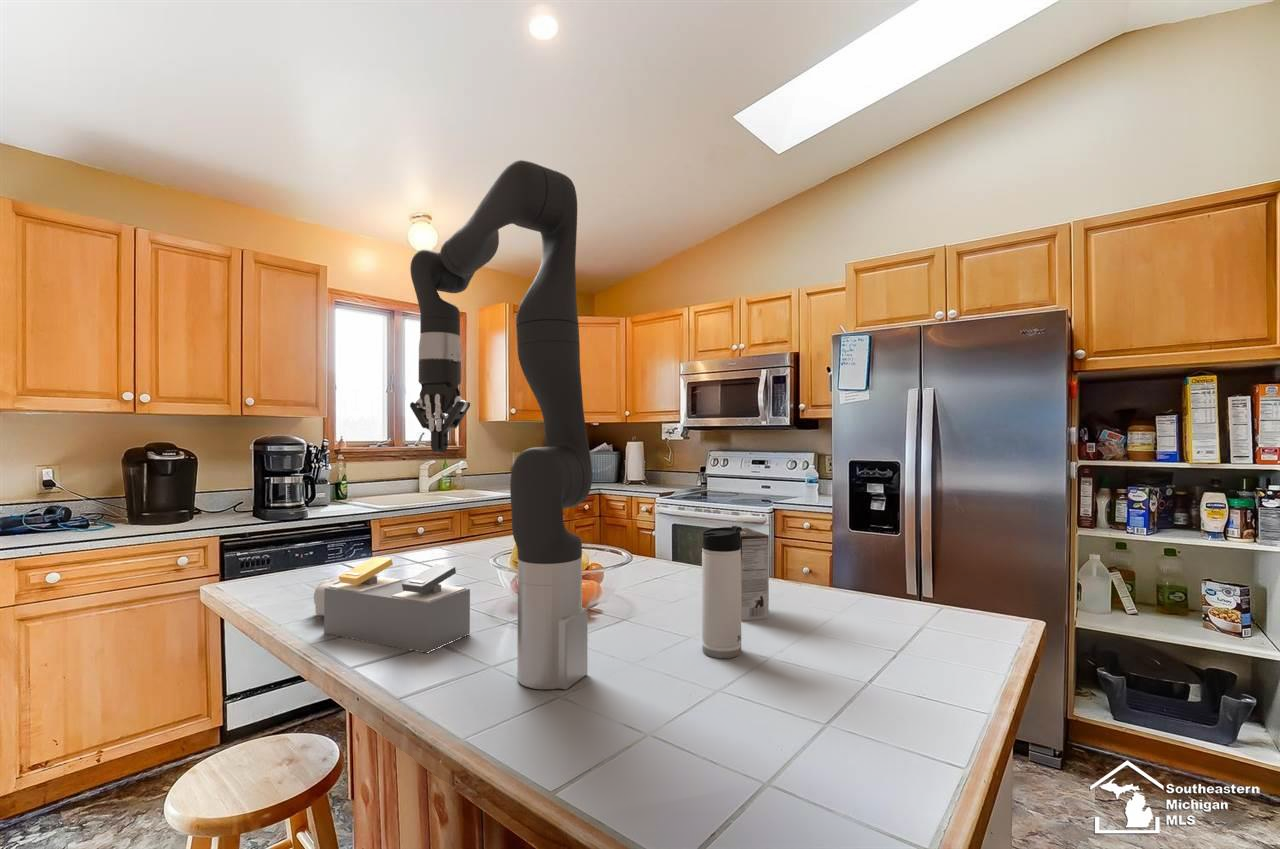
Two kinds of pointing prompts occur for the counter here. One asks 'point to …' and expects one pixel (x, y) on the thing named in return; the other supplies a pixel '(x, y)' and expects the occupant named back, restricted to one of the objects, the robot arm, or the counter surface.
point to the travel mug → (721, 592)
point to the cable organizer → (320, 594)
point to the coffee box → (754, 575)
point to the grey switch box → (397, 613)
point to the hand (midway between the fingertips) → (439, 451)
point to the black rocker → (428, 578)
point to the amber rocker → (365, 570)
